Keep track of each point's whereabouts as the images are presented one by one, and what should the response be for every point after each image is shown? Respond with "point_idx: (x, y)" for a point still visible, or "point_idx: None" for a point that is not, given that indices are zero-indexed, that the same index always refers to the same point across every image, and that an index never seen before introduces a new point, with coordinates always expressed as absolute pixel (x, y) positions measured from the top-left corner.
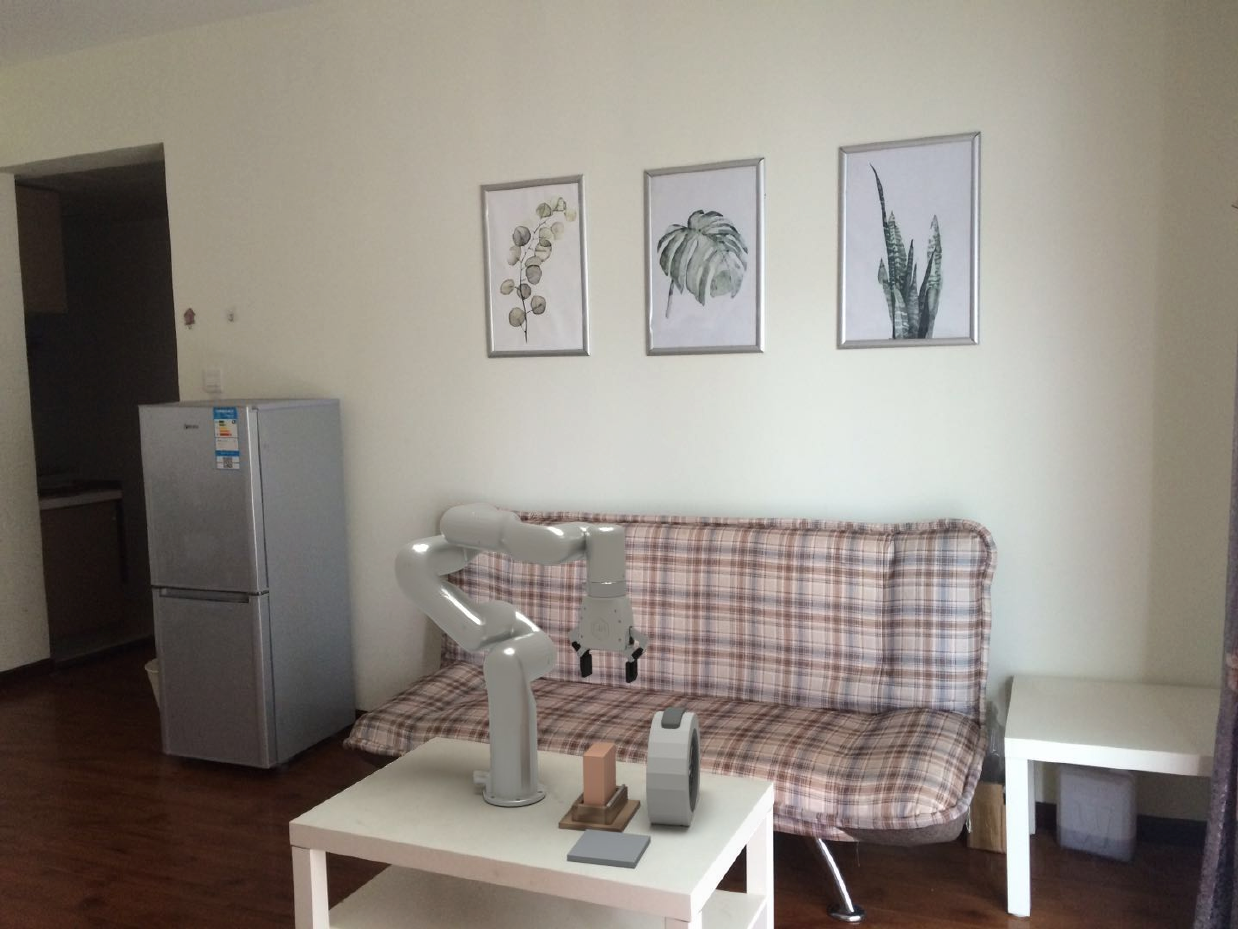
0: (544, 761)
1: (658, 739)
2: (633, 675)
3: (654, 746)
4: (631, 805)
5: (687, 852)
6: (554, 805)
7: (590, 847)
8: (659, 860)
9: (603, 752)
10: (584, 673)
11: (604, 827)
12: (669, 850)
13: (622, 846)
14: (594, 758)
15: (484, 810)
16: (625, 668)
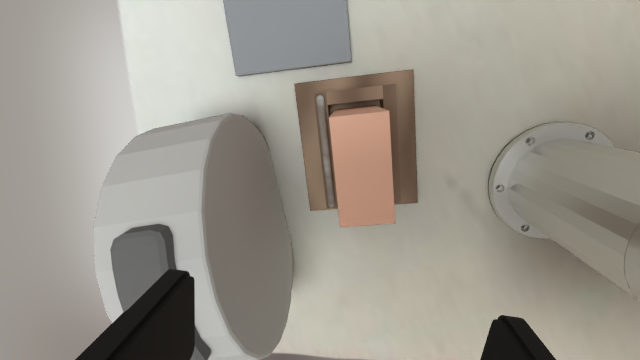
0: (546, 338)
1: (175, 182)
2: (123, 313)
3: (187, 162)
4: (316, 186)
5: (169, 58)
6: (456, 163)
7: None
8: (196, 9)
9: (342, 151)
10: (510, 336)
11: (323, 80)
12: (197, 54)
13: (261, 12)
14: (354, 114)
15: (586, 97)
16: (137, 338)
